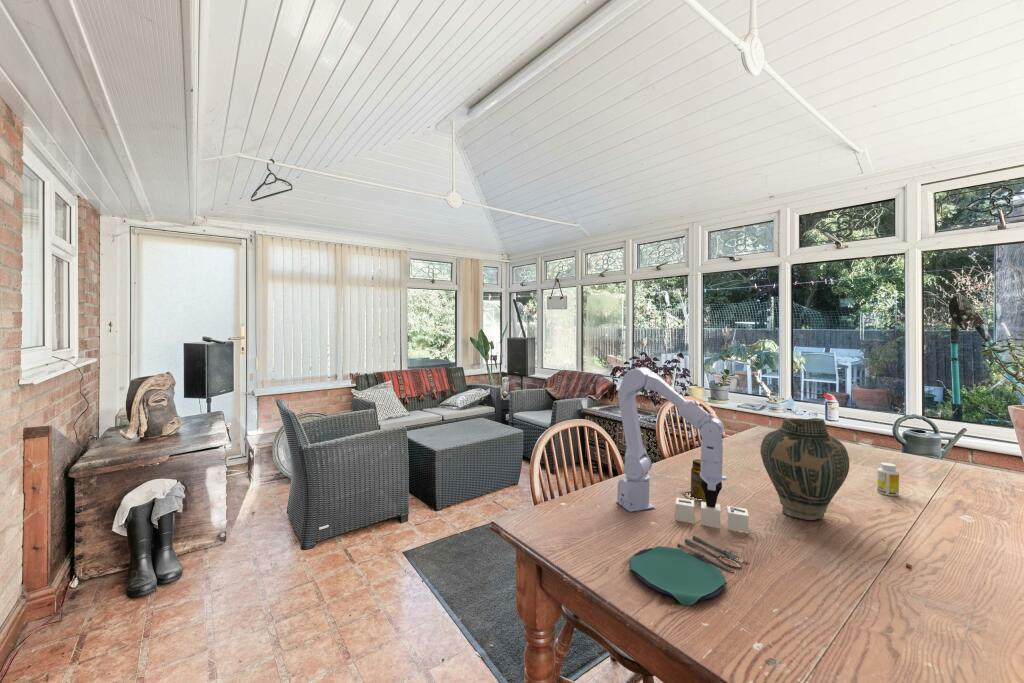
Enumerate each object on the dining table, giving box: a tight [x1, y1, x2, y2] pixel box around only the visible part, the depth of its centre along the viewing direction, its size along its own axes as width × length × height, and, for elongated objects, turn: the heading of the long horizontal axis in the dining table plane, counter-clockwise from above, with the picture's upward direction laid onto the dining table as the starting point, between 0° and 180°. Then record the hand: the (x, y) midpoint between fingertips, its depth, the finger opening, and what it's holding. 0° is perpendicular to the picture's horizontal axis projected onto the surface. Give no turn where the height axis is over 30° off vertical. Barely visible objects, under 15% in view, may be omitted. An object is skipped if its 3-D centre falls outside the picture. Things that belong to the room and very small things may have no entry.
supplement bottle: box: [876, 462, 900, 497], centre depth 143 cm, size 6×6×10 cm
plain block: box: [700, 501, 722, 529], centre depth 121 cm, size 5×5×5 cm
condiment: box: [680, 458, 706, 502], centre depth 140 cm, size 7×8×12 cm
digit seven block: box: [726, 505, 750, 533], centre depth 118 cm, size 5×5×5 cm
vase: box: [760, 417, 850, 521], centre depth 126 cm, size 22×22×30 cm
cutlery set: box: [628, 535, 743, 606], centre depth 97 cm, size 20×30×2 cm, turn 124°
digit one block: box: [674, 497, 695, 524], centre depth 124 cm, size 5×5×5 cm
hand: (710, 506), depth 120 cm, fingers closed, pressing on plain block
